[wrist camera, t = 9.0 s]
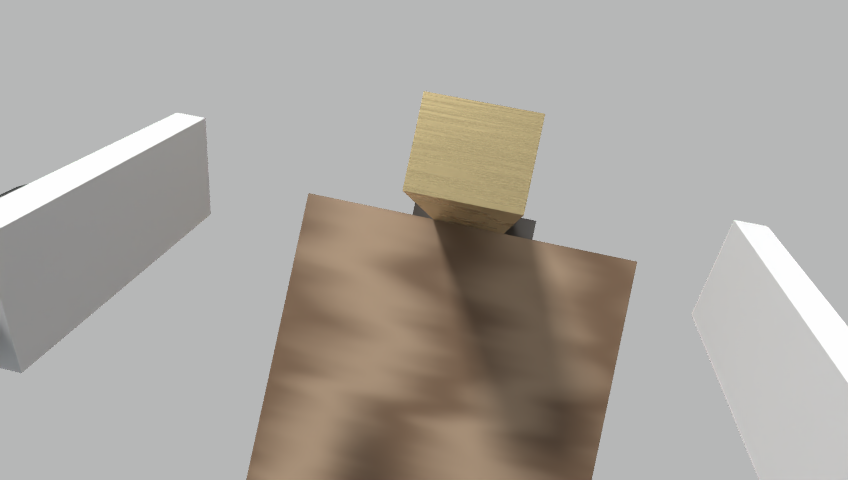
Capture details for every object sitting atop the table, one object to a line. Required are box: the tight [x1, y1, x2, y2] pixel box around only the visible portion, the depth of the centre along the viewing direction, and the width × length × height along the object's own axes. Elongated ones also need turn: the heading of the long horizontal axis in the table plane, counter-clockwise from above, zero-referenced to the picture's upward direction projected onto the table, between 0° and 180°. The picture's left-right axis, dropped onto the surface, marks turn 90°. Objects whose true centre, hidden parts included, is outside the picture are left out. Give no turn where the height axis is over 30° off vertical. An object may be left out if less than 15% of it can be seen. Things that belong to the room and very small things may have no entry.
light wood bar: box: [403, 91, 545, 234], centre depth 27 cm, size 3×26×2 cm, turn 175°
